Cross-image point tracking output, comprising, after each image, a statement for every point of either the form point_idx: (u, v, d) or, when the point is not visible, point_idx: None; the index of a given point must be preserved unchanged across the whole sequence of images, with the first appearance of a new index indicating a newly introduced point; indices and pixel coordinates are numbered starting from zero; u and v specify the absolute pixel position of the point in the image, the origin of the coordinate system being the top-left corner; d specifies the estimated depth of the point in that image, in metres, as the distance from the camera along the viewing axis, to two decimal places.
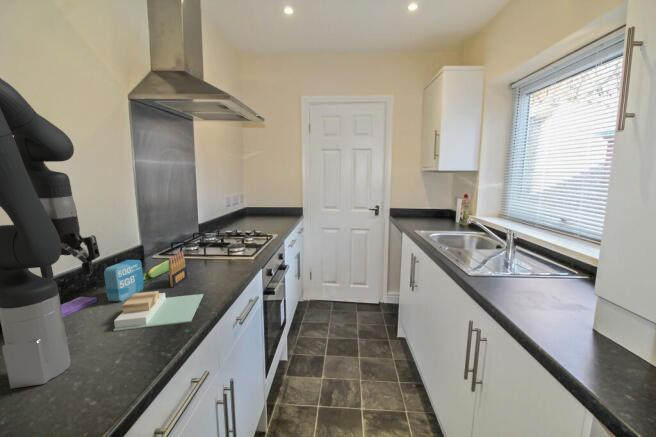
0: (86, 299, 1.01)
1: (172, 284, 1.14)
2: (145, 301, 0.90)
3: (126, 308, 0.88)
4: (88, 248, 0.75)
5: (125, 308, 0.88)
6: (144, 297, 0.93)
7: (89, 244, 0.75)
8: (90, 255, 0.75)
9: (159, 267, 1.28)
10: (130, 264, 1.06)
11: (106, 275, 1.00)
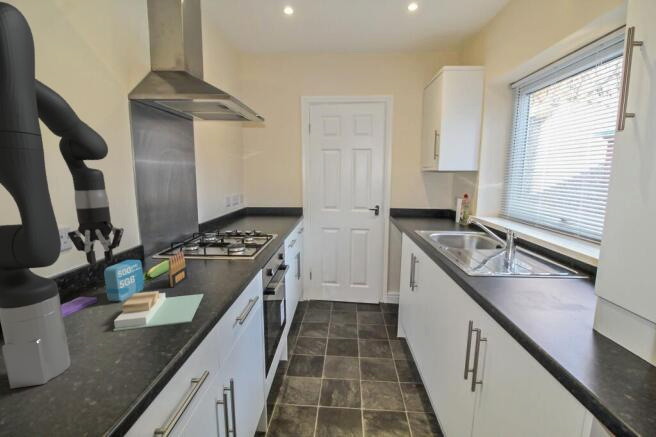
0: (86, 299, 1.01)
1: (172, 284, 1.14)
2: (145, 301, 0.90)
3: (126, 308, 0.88)
4: (114, 238, 0.87)
5: (125, 308, 0.88)
6: (144, 297, 0.93)
7: (117, 235, 0.87)
8: (112, 244, 0.87)
9: (158, 267, 1.28)
10: (130, 264, 1.06)
11: (106, 275, 1.00)
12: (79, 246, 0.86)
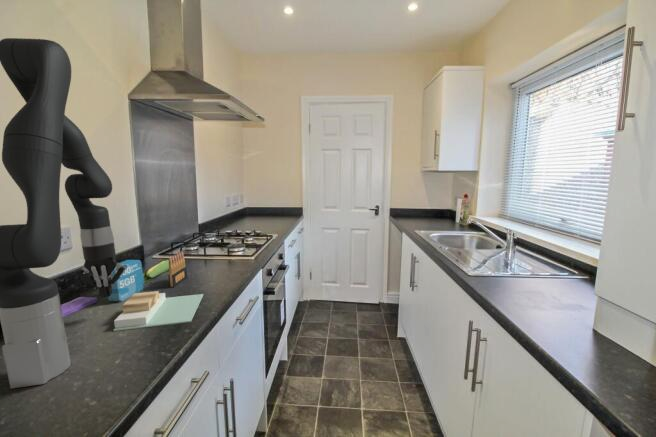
0: (87, 299, 1.01)
1: (172, 284, 1.14)
2: (145, 301, 0.90)
3: (126, 308, 0.88)
4: (116, 274, 0.89)
5: (125, 308, 0.88)
6: (144, 297, 0.93)
7: (119, 272, 0.89)
8: (112, 279, 0.89)
9: (157, 267, 1.27)
10: (130, 264, 1.06)
11: None
12: (92, 281, 0.88)
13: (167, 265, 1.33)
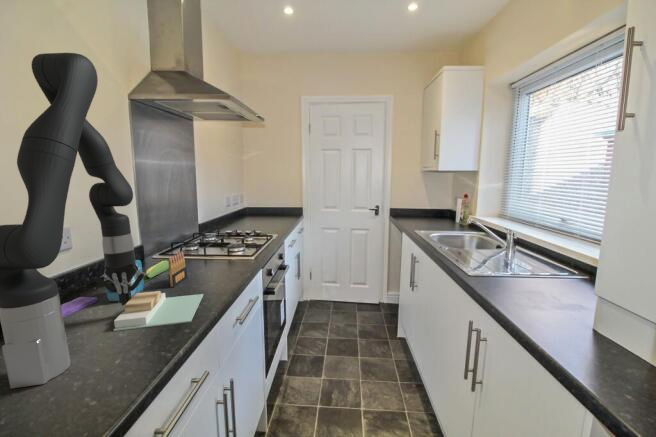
0: (87, 299, 1.01)
1: (172, 284, 1.14)
2: (147, 300, 0.90)
3: (128, 308, 0.88)
4: (136, 281, 0.90)
5: (127, 308, 0.88)
6: (146, 297, 0.93)
7: (139, 279, 0.91)
8: (132, 286, 0.90)
9: (156, 267, 1.27)
10: None
11: None
12: (112, 288, 0.89)
13: (166, 265, 1.33)
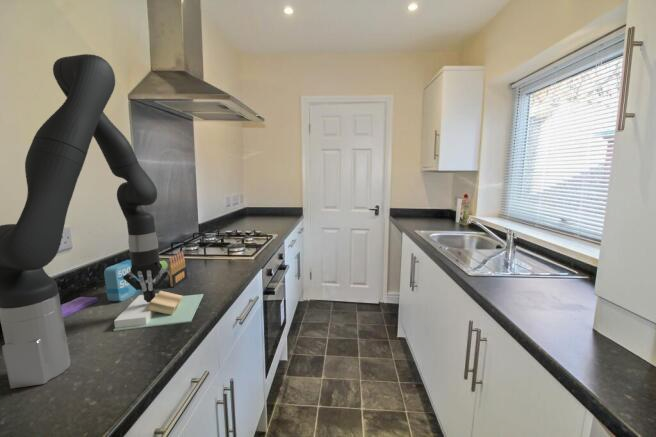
0: (87, 299, 1.01)
1: (172, 284, 1.14)
2: (171, 304, 0.91)
3: (152, 306, 0.89)
4: (160, 279, 0.92)
5: (151, 305, 0.89)
6: (170, 299, 0.94)
7: (163, 277, 0.92)
8: (157, 284, 0.92)
9: None
10: (130, 264, 1.06)
11: (106, 275, 1.00)
12: (137, 286, 0.91)
13: (164, 265, 1.33)
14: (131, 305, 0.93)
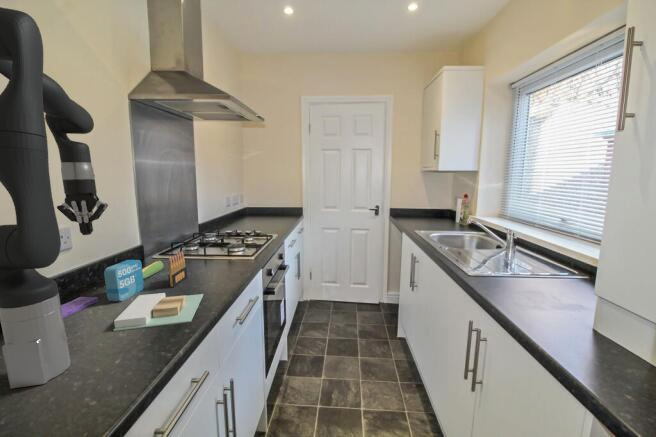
0: (87, 299, 1.01)
1: (172, 284, 1.14)
2: (174, 305, 0.91)
3: (156, 312, 0.89)
4: (96, 211, 0.91)
5: (155, 312, 0.89)
6: (172, 301, 0.94)
7: (99, 209, 0.91)
8: (93, 216, 0.91)
9: (149, 268, 1.27)
10: (130, 264, 1.06)
11: (106, 275, 1.00)
12: (72, 217, 0.89)
13: (159, 266, 1.33)
14: (131, 305, 0.93)
